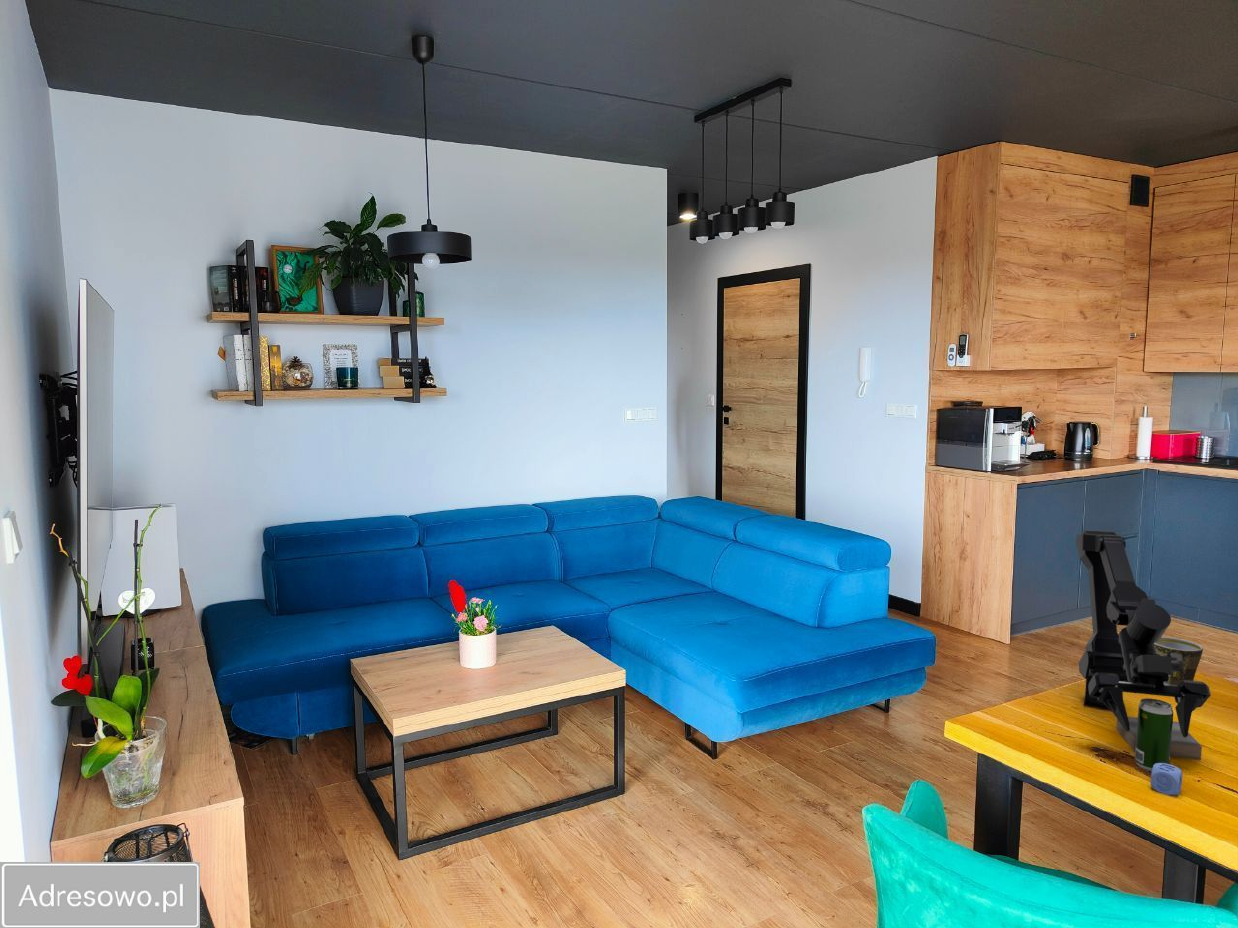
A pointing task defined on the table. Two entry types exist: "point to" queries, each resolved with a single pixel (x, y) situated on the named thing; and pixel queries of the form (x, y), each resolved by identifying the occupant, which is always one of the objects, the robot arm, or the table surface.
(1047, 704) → the table surface
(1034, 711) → the table surface
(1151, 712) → the beer can
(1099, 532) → the robot arm
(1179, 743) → the gray plinth
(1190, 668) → the ceramic cup
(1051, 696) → the table surface
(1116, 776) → the table surface
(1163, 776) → the decorative dice
